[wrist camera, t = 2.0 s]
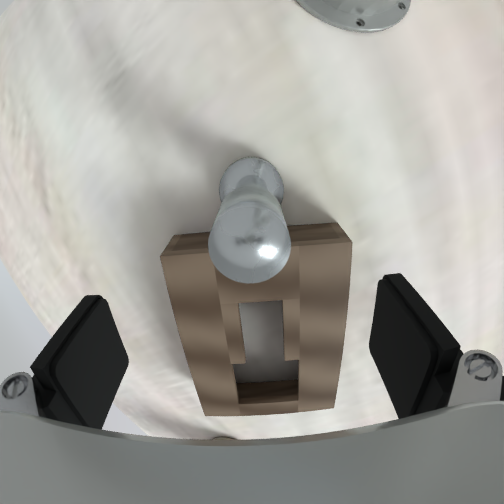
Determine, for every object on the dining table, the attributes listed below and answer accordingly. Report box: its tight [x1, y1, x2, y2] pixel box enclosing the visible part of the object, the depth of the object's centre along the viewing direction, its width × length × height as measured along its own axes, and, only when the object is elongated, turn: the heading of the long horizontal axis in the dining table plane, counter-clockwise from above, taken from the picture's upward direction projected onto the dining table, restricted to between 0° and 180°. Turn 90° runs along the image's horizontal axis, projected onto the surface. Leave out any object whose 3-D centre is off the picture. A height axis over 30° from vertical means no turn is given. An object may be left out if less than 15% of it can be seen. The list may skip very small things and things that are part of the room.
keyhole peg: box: [208, 157, 291, 283], centre depth 21 cm, size 6×6×14 cm
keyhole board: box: [160, 223, 352, 416], centre depth 31 cm, size 22×16×5 cm
